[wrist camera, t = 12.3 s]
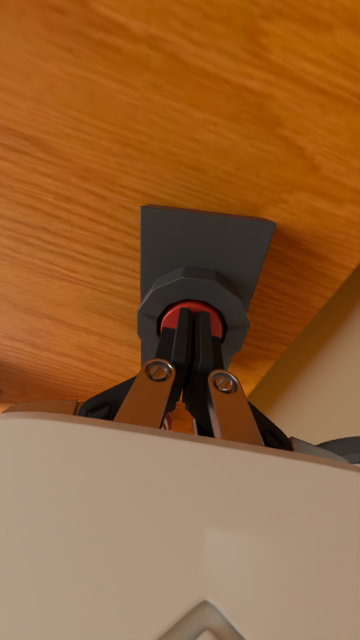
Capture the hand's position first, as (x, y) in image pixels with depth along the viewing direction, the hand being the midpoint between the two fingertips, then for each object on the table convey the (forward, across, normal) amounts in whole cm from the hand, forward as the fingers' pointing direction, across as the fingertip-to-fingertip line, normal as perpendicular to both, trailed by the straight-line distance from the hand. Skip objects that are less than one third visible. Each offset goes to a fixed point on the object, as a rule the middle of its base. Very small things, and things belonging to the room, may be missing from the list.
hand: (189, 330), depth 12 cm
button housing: (+4, 0, 0) cm, 4 cm away
